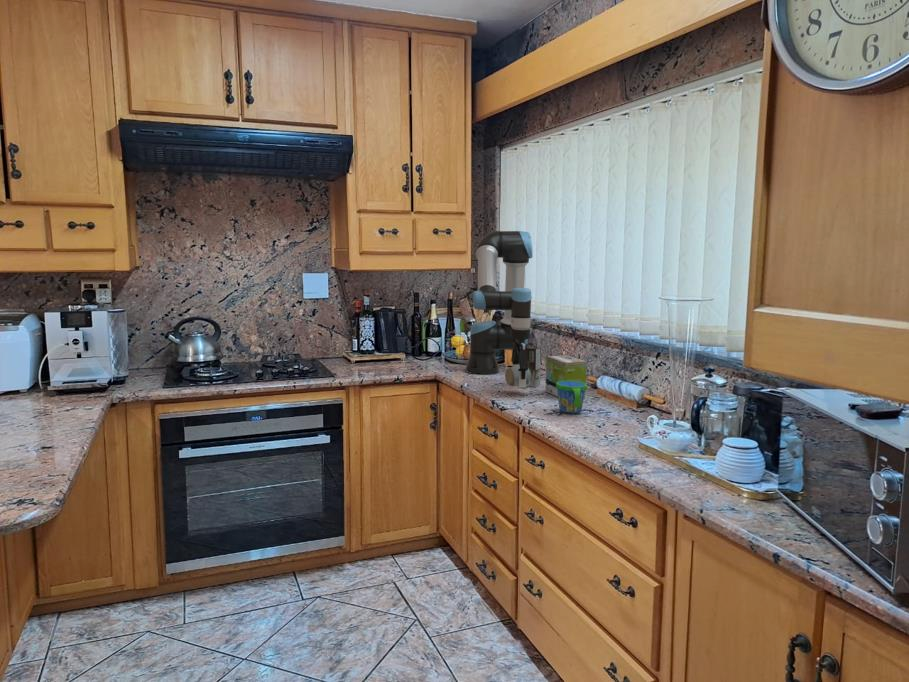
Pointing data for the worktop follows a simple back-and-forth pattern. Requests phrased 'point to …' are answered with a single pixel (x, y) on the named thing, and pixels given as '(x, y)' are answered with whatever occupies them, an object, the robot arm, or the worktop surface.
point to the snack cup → (571, 396)
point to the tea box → (564, 371)
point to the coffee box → (534, 365)
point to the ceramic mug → (516, 377)
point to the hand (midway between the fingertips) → (518, 384)
